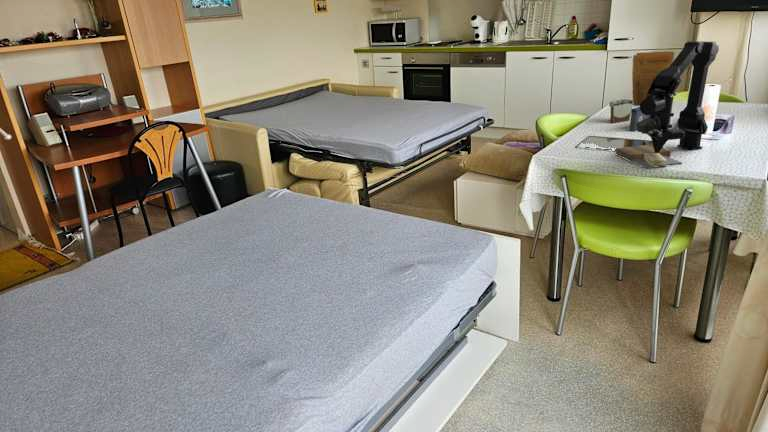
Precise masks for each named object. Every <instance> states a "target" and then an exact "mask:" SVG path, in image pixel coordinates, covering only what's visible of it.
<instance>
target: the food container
mask: <svg viewBox="0 0 768 432" xmlns="http://www.w3.org/2000/svg"><path fill="white" fill-rule="evenodd" d="M633 104H634V101H633V99H628V98H627V99H626V98H625V99H623V98H621V99H620V98H619V99H613V100H612V99H611V100H610V102H609V107H610V123H611V124H619V123H625V122H630V119H631V110H632V109H633V106H634V105H633Z"/></svg>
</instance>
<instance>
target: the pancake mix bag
mask: <svg viewBox="0 0 768 432" xmlns="http://www.w3.org/2000/svg"><path fill="white" fill-rule="evenodd" d="M675 55H676V52H675V51H668V50H667V51H666V50H665V51H651V52H636V54H633V56H632V71H631V76H632V77H631V79H632V80H631V81H632V82H631V83H632V84H631V85H632V90H631V91H632V100H633V101H634V104H633V105H632V106H634V107H635V106H636V107H637V106H638V107H640V104H641V102H642V101H643V100H644V99H646V98H647V95H649V94H647V92H648V90H649V88H650V86H651V84H652V82H653V80H654V78H655V77H656V75H657V74H658V73H660V72H661V71H662V70H664V69H666V68H668V67H669V66H670V65H671V64H672V62H673V61H674V60H675ZM655 90H656V89H655ZM659 91H661V90H659Z"/></svg>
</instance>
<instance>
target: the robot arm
mask: <svg viewBox="0 0 768 432" xmlns="http://www.w3.org/2000/svg"><path fill="white" fill-rule="evenodd" d="M719 47H720V46H719V45H718V44H717V42H716V41H700V40H699V41H696V40H695V41H694V40H693V41H692V40H691V41H690V40H689V41H686V42H685V44H684V45H683V48H682V50H680V52H679V53H678V54H677V56H676V57H675V58H674V61H673V62H672V64H671V65H670V66H669V67H668V68H666V69H664V70H662V71H661V72H660V73H658V74H657V75H656V77H655V78H654V80H653V82H652V84H651V86H650V88H649V90H648V92H647V94H649V95H647V98H646V99H644V100H643V101H642V102H641V104H640V106H639V107H640V111H641V112H642V113H643V114H645V115H649V118H646V119H643V120H641V121H639V122H637V123H636V127H637V131H636V132H638V133H641V134H643V135H644V134H646V135H647V136H648V137H650V139H651V140H652V143H653V147H654V151H655V153H659V152H660V150H661V149H662V147H663V148H664V146H665V145H666V143H667V142H668V141H672V140H679V143H678V144H677V145H676V146H677V147H678V148H681V149H684V150H686V151H692V150H700V149H703V146H701V142H702V140H701V139H702V135H706V133H707V131H708V125H707V122H706V120H705V115H706V113H705V111H704V108H703V107H702V106H703V105H702V103H703V98H704V93H705V88H706V82H707V77H708V72H709V67H710V66H711V65H712V63H713V62H714V61H715V60H716V57H717V54H718V53H719V50H720V49H719ZM690 64H692V67H693V69H692V74H691V80H690V83H689V84H690V86H689V90H688V97H687V102H686V106H685V107H684V108H683V109H682V110H680V112H679V117H678V120H677V128H676V127H675V128H673V124H670V123H671V117H674V115H675V112H672V110H673V102H674V97H675V96H676V95H677V92H676V91H677V90H678V88H679V87H680V84H681V82H682V75H683V74H684V72H685V71H686V69H687V68H688V67H689V65H690ZM655 89H656V90H655ZM659 90H661V91H659Z"/></svg>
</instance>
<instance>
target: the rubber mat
mask: <svg viewBox="0 0 768 432" xmlns="http://www.w3.org/2000/svg"><path fill="white" fill-rule="evenodd" d="M663 157H664V158H665V159H666V160H667V165H670V166H675V165H674V164H678V165H682V164H683V162H682V161H679V160H677V159H675V158H672V157H667V156H663ZM631 161H632V162H635V163H637V164H639V165H641V166H643V167H644V168H643V167H642V168H643V169H649V168H648V167H654V166H651V165H650V164H649V163H648V162H646V161H645V160H644V159H636V160H631ZM632 162H631V163H632ZM635 163H634V164H635ZM637 164H636V165H637ZM639 165H638V166H639ZM641 166H640V167H641ZM654 168H655V167H654Z"/></svg>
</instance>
